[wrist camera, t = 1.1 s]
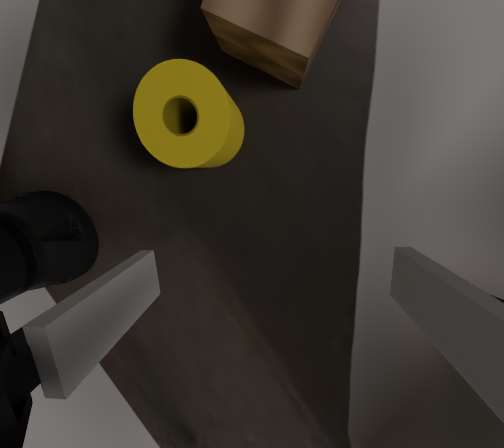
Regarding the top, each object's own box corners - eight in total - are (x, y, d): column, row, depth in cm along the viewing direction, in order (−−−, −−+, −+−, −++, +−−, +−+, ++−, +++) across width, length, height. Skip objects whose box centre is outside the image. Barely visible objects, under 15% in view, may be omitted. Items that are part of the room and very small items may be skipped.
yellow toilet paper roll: (247, 93, 31) (234, 62, 22) (240, 171, 33) (226, 172, 24) (174, 87, 32) (131, 55, 23) (172, 163, 34) (133, 162, 25)
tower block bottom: (222, 52, 30) (213, 33, 26) (259, -47, 28) (256, -87, 23) (299, 90, 30) (302, 77, 26) (344, -5, 28) (356, -37, 23)
